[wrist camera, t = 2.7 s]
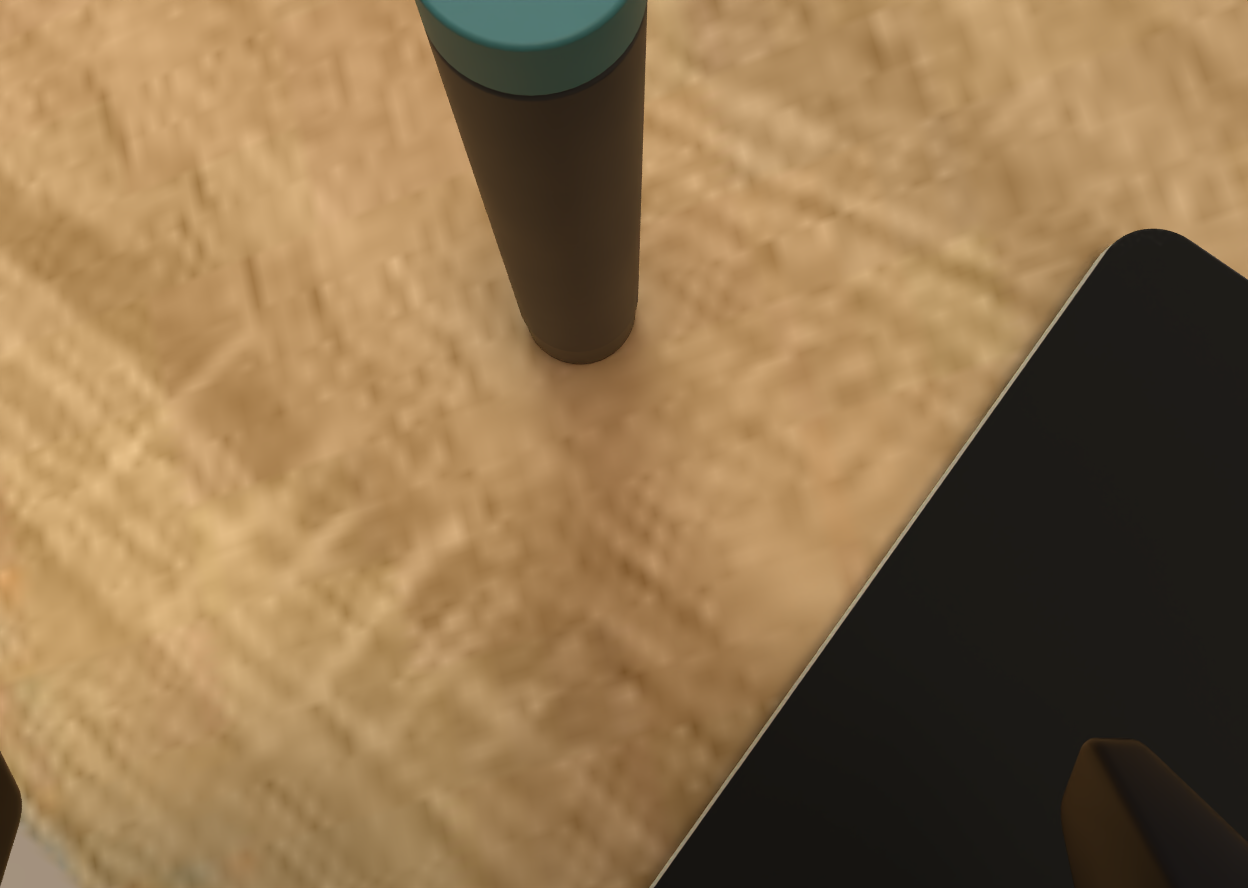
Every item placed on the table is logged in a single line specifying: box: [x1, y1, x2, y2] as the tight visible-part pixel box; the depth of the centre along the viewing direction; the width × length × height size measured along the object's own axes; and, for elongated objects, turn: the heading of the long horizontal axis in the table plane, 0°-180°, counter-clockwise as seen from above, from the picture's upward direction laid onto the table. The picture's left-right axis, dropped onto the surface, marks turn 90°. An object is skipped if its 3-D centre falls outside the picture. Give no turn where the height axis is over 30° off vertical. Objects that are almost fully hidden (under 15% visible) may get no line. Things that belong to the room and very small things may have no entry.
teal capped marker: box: [415, 0, 647, 364], centre depth 17 cm, size 2×2×13 cm
